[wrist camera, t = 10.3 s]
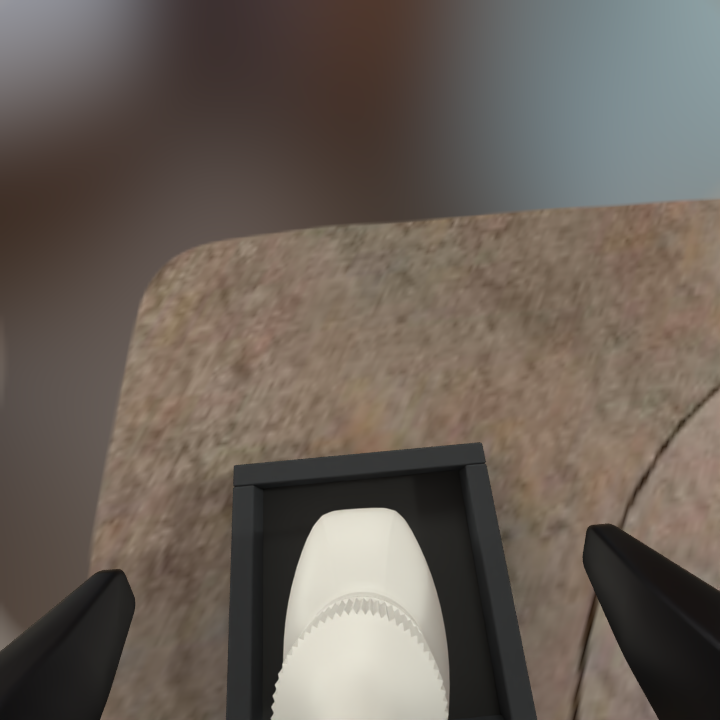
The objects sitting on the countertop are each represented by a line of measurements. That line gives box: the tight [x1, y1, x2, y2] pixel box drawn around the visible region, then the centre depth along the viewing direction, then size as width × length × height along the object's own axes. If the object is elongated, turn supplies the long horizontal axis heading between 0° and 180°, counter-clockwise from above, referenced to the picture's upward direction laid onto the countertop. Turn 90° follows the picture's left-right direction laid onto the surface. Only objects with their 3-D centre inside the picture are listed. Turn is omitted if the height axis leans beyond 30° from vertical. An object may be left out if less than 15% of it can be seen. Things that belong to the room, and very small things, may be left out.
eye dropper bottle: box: [271, 508, 450, 720], centre depth 10 cm, size 4×6×12 cm
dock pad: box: [226, 442, 537, 720], centre depth 15 cm, size 10×10×2 cm
